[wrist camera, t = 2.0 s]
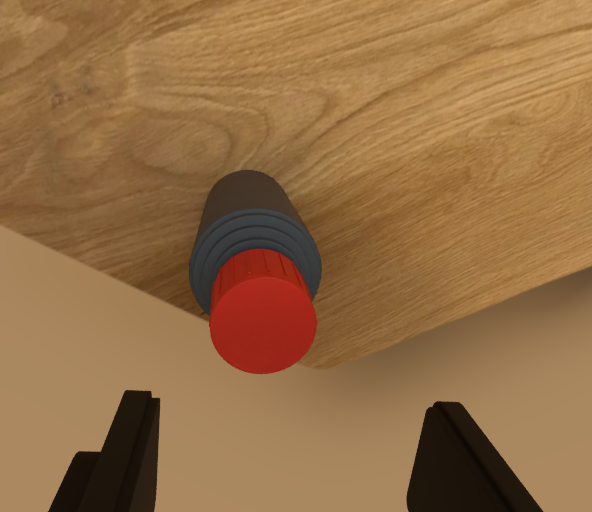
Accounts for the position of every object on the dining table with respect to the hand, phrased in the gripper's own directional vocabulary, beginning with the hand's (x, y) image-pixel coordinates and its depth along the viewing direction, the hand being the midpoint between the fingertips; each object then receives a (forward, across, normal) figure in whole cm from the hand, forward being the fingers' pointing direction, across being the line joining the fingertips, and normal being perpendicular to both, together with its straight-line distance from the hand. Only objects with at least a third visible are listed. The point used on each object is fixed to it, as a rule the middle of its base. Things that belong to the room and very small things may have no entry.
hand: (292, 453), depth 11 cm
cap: (+10, 0, 0) cm, 10 cm away
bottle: (+27, 0, 0) cm, 27 cm away
